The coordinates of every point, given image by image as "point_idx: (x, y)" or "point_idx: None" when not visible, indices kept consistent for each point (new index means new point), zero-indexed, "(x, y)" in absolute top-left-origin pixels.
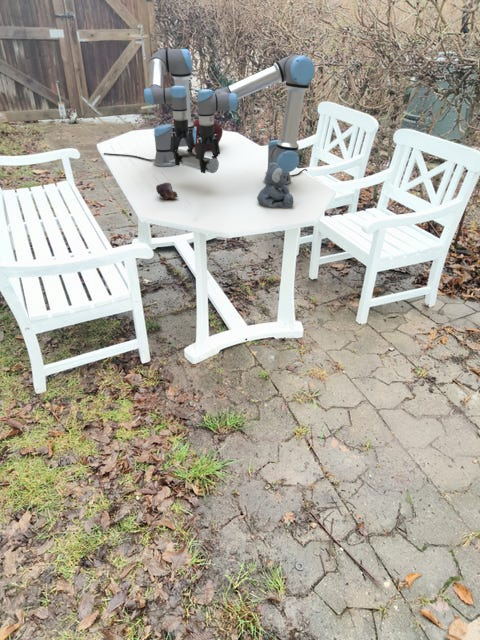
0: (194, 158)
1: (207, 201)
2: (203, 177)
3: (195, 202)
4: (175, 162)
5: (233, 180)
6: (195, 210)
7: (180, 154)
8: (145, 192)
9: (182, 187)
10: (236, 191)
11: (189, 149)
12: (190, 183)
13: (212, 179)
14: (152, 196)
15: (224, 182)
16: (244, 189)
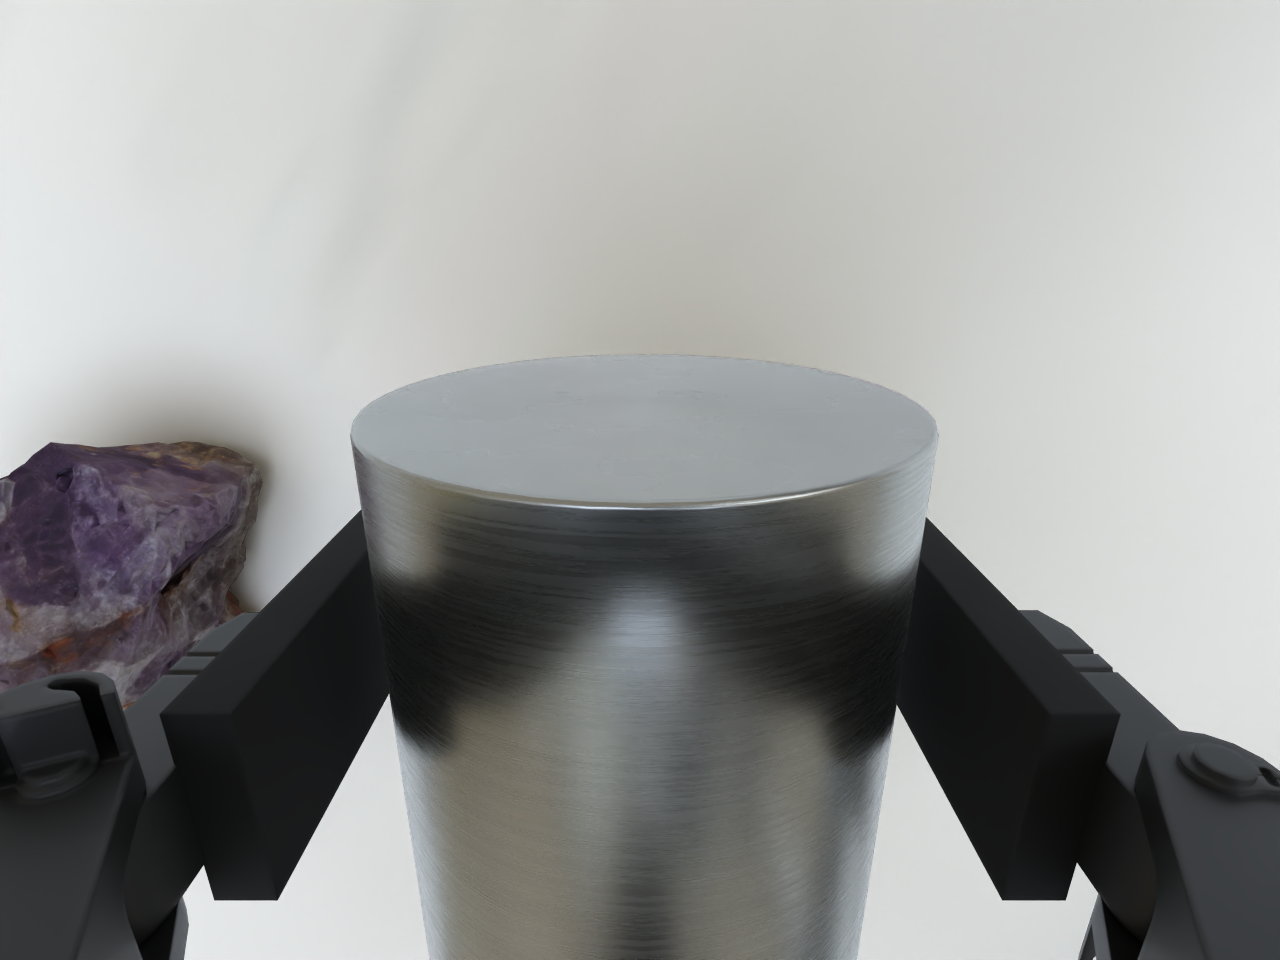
0: None
1: None
2: (1184, 239)
3: (375, 837)
4: (355, 529)
5: (1247, 659)
6: (252, 955)
7: (419, 813)
8: (17, 97)
9: None
10: (905, 899)
11: (1059, 813)
12: (814, 314)
13: (1157, 426)
14: (44, 343)
15: (1115, 632)
16: (1006, 914)
